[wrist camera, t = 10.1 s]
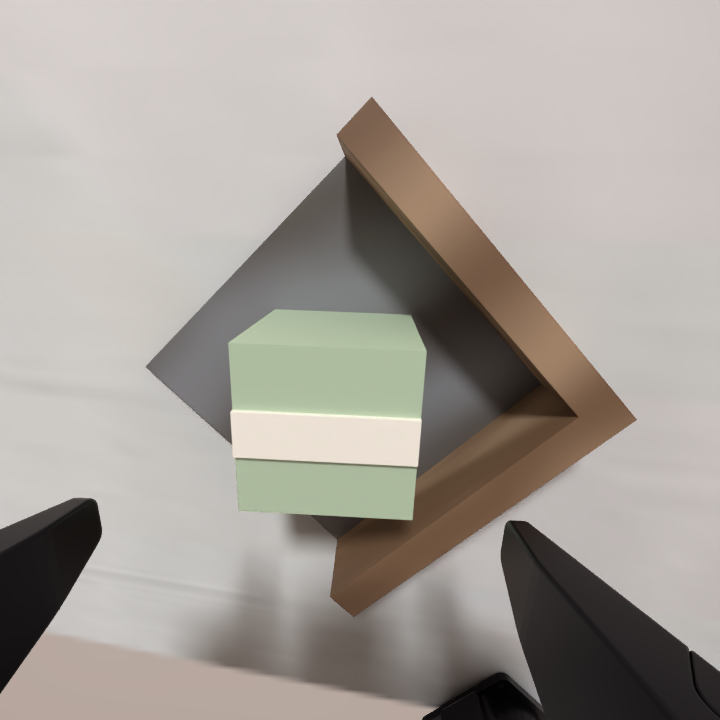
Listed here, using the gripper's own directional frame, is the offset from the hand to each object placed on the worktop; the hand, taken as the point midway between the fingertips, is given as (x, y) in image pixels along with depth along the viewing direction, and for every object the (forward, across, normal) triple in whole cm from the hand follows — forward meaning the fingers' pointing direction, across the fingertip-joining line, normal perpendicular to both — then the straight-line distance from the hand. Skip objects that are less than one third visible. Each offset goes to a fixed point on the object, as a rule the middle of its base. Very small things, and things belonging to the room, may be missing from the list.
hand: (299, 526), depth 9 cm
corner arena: (+11, -1, 0) cm, 11 cm away
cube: (+10, 0, 0) cm, 10 cm away
